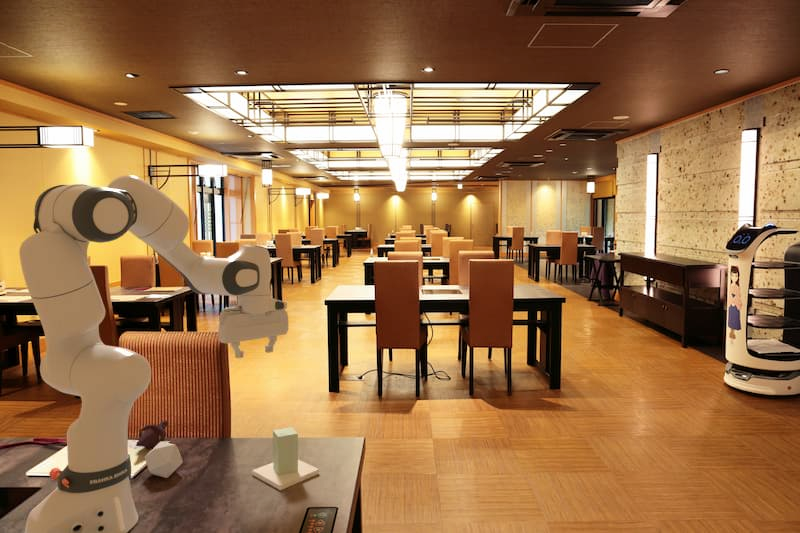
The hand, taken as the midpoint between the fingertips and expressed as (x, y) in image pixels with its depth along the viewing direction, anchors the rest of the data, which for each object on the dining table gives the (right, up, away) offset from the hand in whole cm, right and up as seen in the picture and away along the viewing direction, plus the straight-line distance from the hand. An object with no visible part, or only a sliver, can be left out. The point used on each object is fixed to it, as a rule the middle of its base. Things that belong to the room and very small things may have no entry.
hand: (254, 354), depth 148 cm
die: (-21, -29, -9) cm, 37 cm away
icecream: (-31, -28, +7) cm, 43 cm away
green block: (+10, -28, -9) cm, 31 cm away
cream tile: (+10, -29, -8) cm, 32 cm away
